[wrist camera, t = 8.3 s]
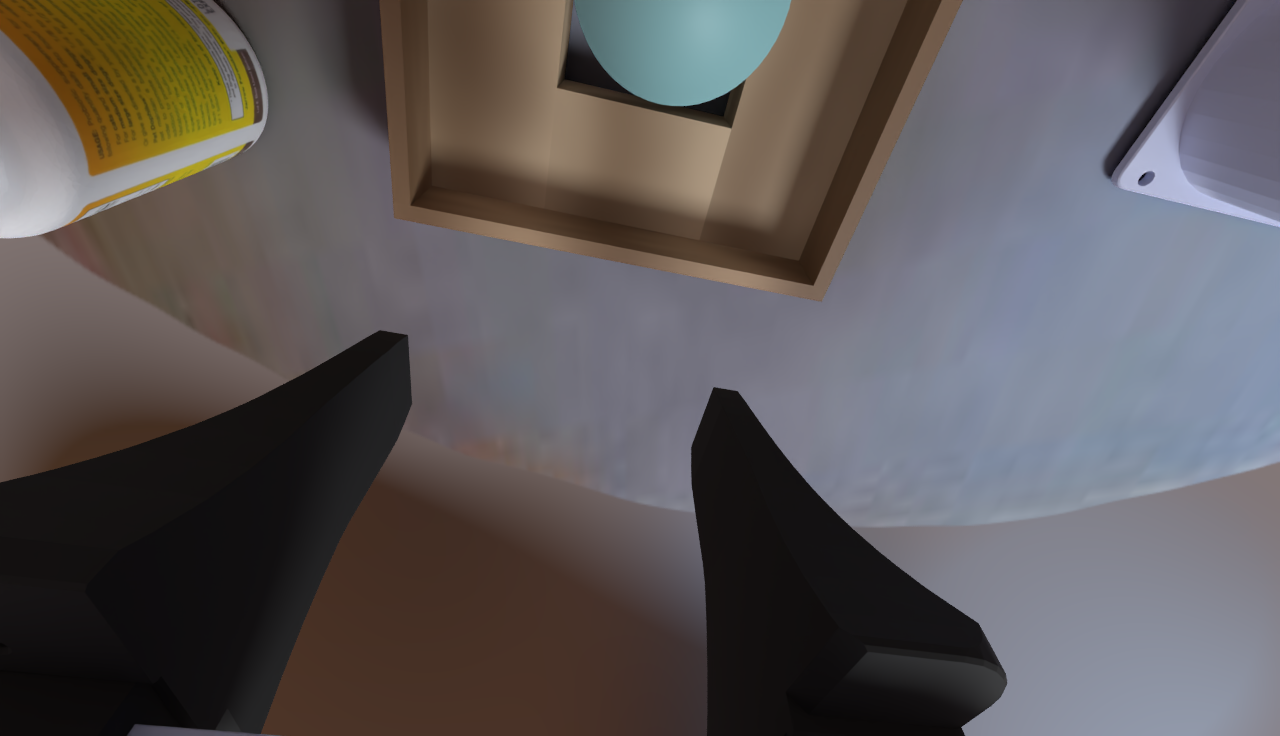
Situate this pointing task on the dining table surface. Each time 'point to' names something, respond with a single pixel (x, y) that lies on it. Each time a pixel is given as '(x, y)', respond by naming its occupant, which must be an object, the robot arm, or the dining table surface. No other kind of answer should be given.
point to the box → (653, 138)
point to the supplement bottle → (116, 103)
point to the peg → (681, 44)
